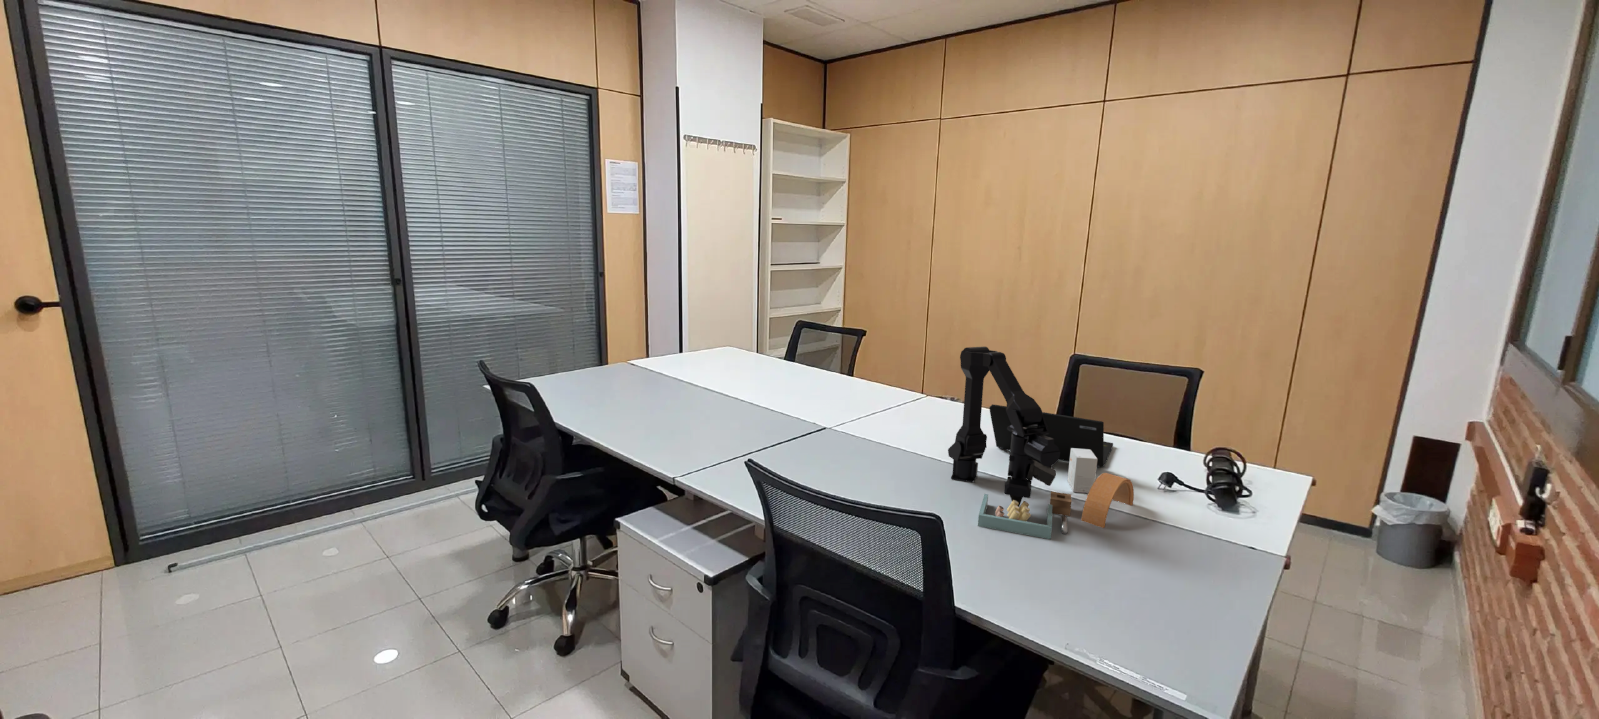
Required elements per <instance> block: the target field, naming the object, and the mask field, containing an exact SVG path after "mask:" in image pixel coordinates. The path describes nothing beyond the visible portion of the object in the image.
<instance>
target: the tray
mask: <svg viewBox="0 0 1599 719" xmlns="http://www.w3.org/2000/svg"><path fill="white" fill-rule="evenodd" d="M988 502H989V494H988V493H984V494H983V497H982V502H981V506H980V508H979V513H978V518H977V526H978V527H981V528H987V529H993V530H998V531H1004V532H1009V533H1013V534H1015V533H1016V534H1021V535H1027V536H1031V537H1037V538H1043V539H1047V540H1052V530H1053V513H1052V505H1050V503H1048V504H1047V513H1046V524H1042V523H1037V522H1031V521H1021V520H1015V519H1009V517H1004V516H1003V517H998V516H996V515H992V514H986V512H987V510H988V508H987V507H988Z"/></svg>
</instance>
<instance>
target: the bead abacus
mask: <svg viewBox="0 0 1599 719" xmlns="http://www.w3.org/2000/svg"><path fill="white" fill-rule="evenodd" d="M1018 504H1019V503H1018V502H1017V501H1016V500H1013V501H1012V500H1011V503H1010V504H1009V506H1008V507H1007V509H1006V512H1008V513H1007V514H1006V515H1007V518H1009V519H1015V520H1021V521H1026V522H1028V520H1029V518H1030V517H1032V516H1031V515H1032V514H1031V513H1030V511H1031V509H1030V508H1029V506H1030V504H1029V503H1028V502H1027V501H1024V500H1023V501H1022V502H1021V503H1020V506H1019V507H1018ZM1004 510H1005V508H1004V507H1003V506H1002V505H998V506H997V508H996V510H995V512H994V516H998V517H1004V515H1005V513H1004V512H1003V511H1004Z"/></svg>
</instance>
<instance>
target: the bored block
mask: <svg viewBox="0 0 1599 719" xmlns="http://www.w3.org/2000/svg"><path fill="white" fill-rule="evenodd" d="M1049 504H1050V505H1052V515H1054V514H1056V515H1060V516H1062V515H1065V516H1066V517H1071V510H1072V494H1070V493H1063V492H1060V491H1059V492H1058V491H1050V498H1049Z"/></svg>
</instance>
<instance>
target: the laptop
mask: <svg viewBox="0 0 1599 719" xmlns="http://www.w3.org/2000/svg"><path fill="white" fill-rule="evenodd" d="M1006 406H1007V405H999V404H991V405H990V406H989V413H990V420H991V425H992V429H993V435H994V440H995V446H996V447H997V448H999V449H1000V450H1008V451H1010V449H1011V438H1012V432H1011V431H1009V430H1007V427H1008V426H1010V425H1012V424H1011V422H1010V420H1009V417H1008V415H1007V412H1006ZM1042 413H1043V416H1044V418H1045V421H1046V423H1047V425H1048V430H1049V434H1045V436H1047V437H1050V438H1053V439H1054V444H1055V445H1057V446H1058V448H1059V451H1060V457H1059V459H1058V460H1059V461H1060V460H1061V461H1064V462H1069V461H1070V451H1071V448H1078V449H1090V450H1091V451H1092V452H1093V454H1094V455H1095V456H1096V458H1097V459H1098V460H1097V468H1104V467H1105V464H1107V461H1108V458H1109V455H1110V454H1111V452H1112V449H1113V447H1114V443H1113V442H1111V441H1110V442H1109V441H1105V439H1104V436H1105V435H1104V434H1105V432H1104V429H1105V427H1104V421H1102V420H1096V419H1095V420H1094V419H1088V418H1082V417H1077V416H1069V415H1062V414H1056V413H1050V412H1044V411H1042ZM1025 428H1027V429H1028V428H1038V426H1031V427H1025Z"/></svg>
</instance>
